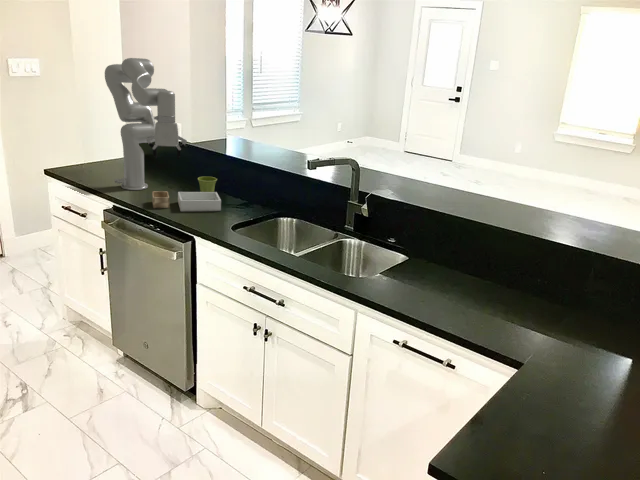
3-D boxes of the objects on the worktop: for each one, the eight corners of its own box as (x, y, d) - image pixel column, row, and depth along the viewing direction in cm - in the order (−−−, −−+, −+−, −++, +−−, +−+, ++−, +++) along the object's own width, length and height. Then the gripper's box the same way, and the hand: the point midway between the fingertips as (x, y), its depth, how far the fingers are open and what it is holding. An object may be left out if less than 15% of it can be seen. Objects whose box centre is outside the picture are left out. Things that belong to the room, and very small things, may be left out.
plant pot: (193, 196, 268) (193, 179, 265) (203, 192, 276) (204, 175, 273) (210, 199, 265) (210, 182, 262) (220, 195, 273) (220, 178, 270)
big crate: (180, 211, 243) (180, 200, 242) (177, 202, 256) (177, 192, 254) (220, 211, 249) (221, 200, 248) (216, 202, 262) (216, 192, 260)
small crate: (153, 208, 244) (153, 197, 242) (152, 201, 253) (152, 191, 251) (169, 208, 246) (169, 197, 245) (167, 201, 255) (167, 191, 253)
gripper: (145, 119, 233) (146, 159, 239) (186, 121, 237) (186, 160, 243) (146, 117, 240) (147, 156, 246) (186, 119, 244) (186, 157, 250)
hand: (167, 158), depth 244 cm, fingers open, 9 cm apart
